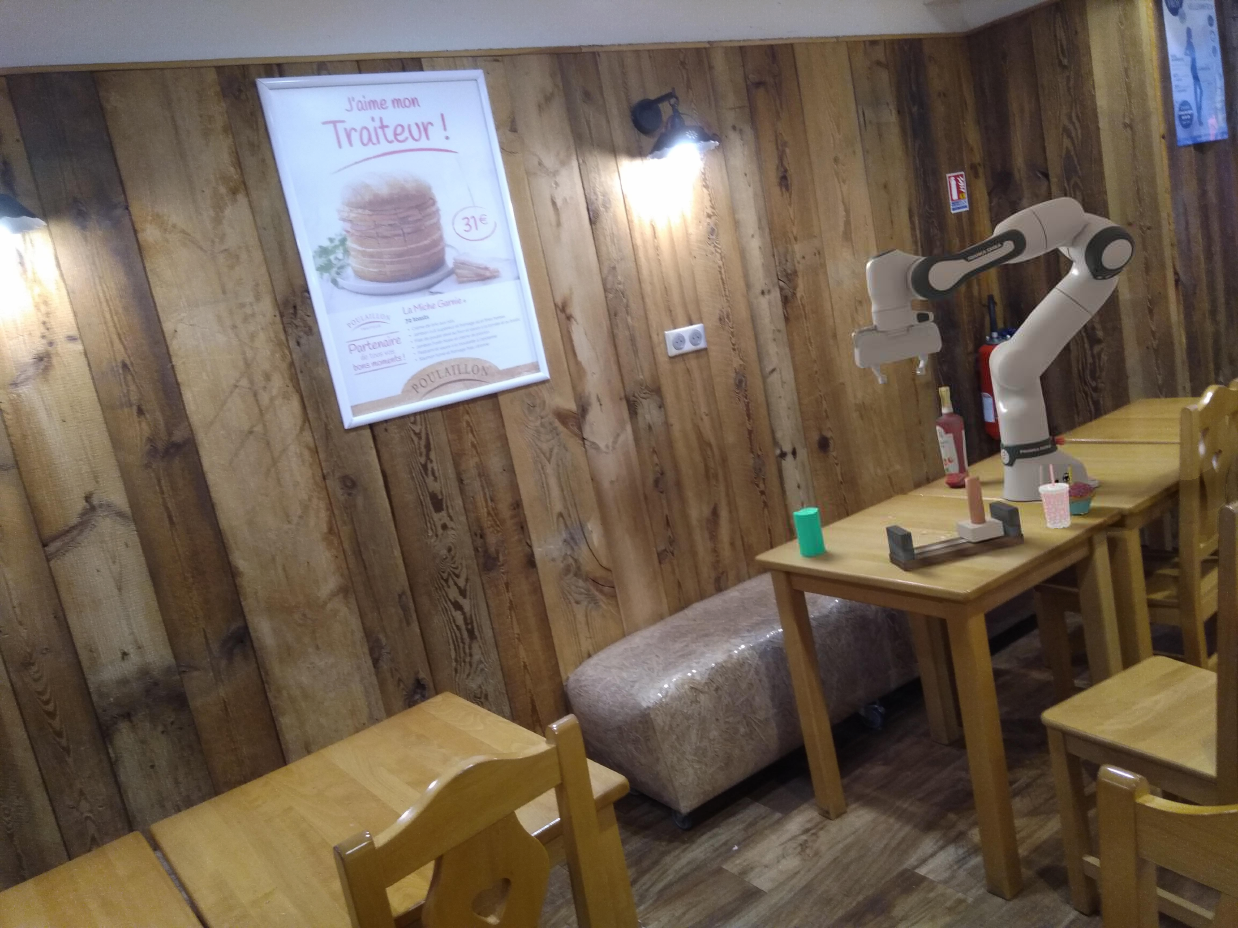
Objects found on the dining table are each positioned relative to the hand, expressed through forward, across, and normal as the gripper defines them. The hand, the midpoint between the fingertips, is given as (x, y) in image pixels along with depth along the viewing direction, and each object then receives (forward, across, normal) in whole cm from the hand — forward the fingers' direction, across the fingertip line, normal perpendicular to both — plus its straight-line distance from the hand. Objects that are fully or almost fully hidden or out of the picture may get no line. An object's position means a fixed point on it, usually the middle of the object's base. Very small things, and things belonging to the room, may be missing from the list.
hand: (902, 379), depth 213 cm
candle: (+37, -28, +2) cm, 47 cm away
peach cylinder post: (+35, +3, -22) cm, 41 cm away
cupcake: (+37, +30, -14) cm, 50 cm away
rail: (+37, -3, -22) cm, 43 cm away
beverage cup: (+37, +22, -20) cm, 48 cm away
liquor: (+37, +24, +32) cm, 55 cm away
